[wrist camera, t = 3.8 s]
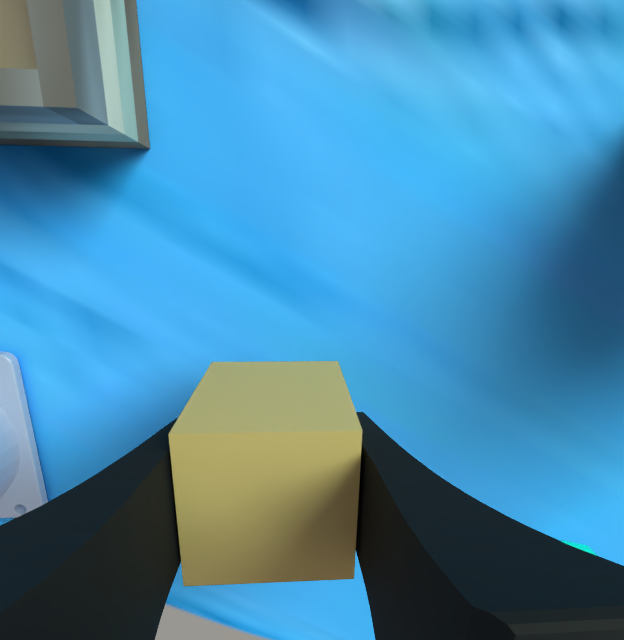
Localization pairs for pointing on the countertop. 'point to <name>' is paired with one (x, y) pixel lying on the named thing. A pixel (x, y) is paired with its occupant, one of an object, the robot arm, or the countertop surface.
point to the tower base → (71, 74)
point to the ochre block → (267, 474)
